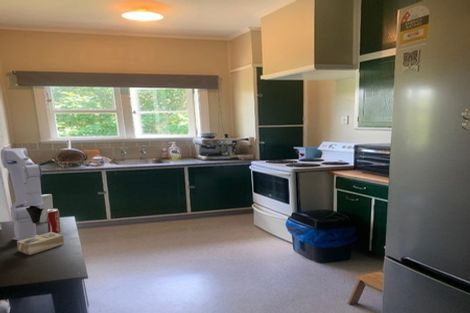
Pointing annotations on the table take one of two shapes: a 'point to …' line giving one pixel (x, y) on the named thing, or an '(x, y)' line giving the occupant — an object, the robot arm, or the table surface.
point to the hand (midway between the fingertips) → (36, 222)
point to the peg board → (40, 243)
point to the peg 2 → (49, 235)
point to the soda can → (53, 221)
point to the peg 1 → (31, 240)
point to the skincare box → (48, 204)
